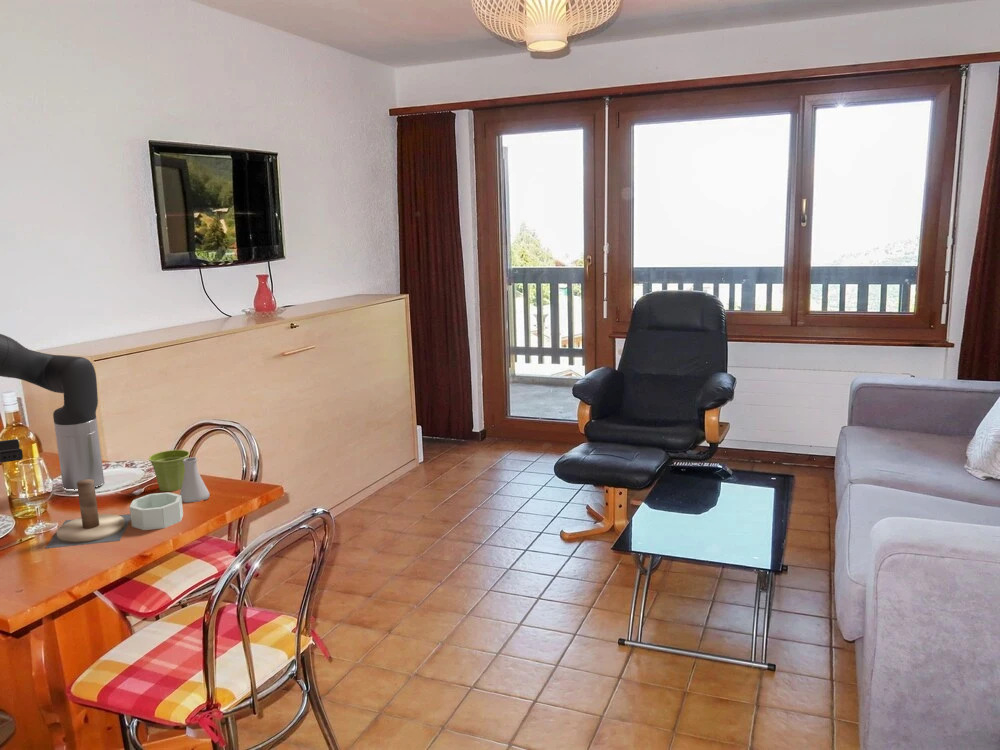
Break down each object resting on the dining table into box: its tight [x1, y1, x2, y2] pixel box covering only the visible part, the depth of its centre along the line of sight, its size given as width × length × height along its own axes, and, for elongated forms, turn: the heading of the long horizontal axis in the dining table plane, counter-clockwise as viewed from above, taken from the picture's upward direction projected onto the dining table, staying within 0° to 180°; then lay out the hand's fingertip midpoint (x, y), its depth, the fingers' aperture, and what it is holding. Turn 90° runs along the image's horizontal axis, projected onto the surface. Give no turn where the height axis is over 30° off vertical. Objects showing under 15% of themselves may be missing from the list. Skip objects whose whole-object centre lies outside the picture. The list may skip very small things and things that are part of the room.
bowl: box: [129, 491, 184, 531], centre depth 173 cm, size 10×10×5 cm
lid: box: [56, 479, 125, 543], centre depth 167 cm, size 13×13×11 cm
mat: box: [45, 513, 131, 549], centre depth 168 cm, size 15×14×1 cm
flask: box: [178, 456, 211, 503], centre depth 186 cm, size 7×7×10 cm
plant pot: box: [148, 449, 191, 492], centre depth 193 cm, size 9×9×9 cm
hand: (20, 448), depth 157 cm, fingers open, 8 cm apart
